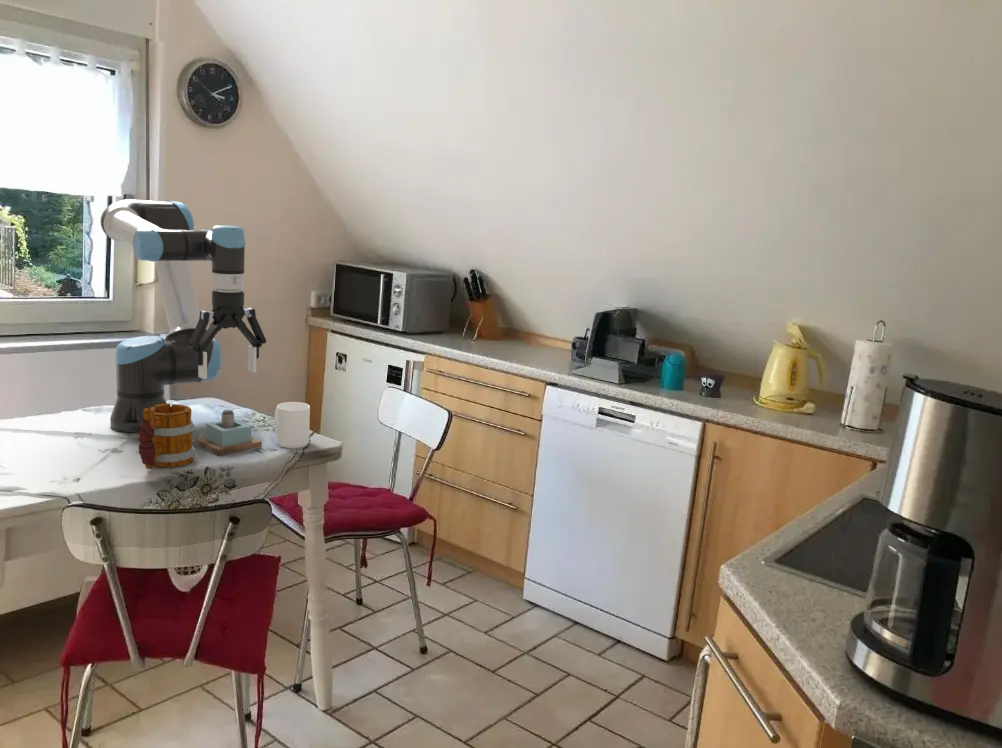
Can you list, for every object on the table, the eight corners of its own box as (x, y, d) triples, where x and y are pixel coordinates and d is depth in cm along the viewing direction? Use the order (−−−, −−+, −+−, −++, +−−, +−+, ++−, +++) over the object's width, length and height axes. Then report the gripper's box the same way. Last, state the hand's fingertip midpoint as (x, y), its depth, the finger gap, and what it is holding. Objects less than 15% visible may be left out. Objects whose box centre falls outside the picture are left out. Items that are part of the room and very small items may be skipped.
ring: (205, 438, 216) (205, 423, 215) (234, 433, 222) (234, 418, 221) (222, 446, 211) (222, 431, 210) (251, 441, 217) (251, 426, 216)
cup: (288, 450, 216) (289, 412, 214) (261, 439, 224) (262, 401, 222) (315, 444, 222) (316, 407, 220) (288, 433, 230) (288, 397, 228)
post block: (193, 443, 216) (193, 409, 214) (236, 435, 225) (236, 402, 223) (218, 456, 208) (218, 420, 206) (261, 447, 217) (262, 413, 215)
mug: (204, 457, 207) (203, 397, 204) (162, 478, 191) (161, 414, 188) (164, 451, 209) (163, 391, 206) (120, 471, 194) (119, 407, 190)
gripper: (187, 294, 196) (188, 384, 201) (280, 289, 215) (279, 371, 219) (171, 290, 201) (172, 377, 206) (264, 285, 220) (263, 366, 224)
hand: (227, 374), depth 213 cm, fingers open, 13 cm apart
